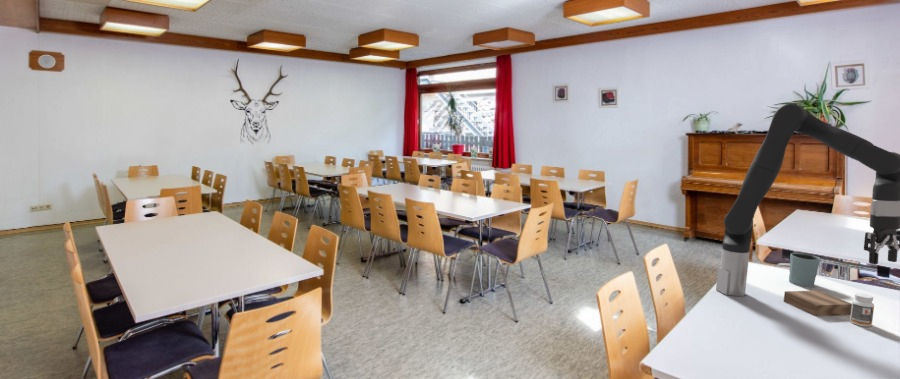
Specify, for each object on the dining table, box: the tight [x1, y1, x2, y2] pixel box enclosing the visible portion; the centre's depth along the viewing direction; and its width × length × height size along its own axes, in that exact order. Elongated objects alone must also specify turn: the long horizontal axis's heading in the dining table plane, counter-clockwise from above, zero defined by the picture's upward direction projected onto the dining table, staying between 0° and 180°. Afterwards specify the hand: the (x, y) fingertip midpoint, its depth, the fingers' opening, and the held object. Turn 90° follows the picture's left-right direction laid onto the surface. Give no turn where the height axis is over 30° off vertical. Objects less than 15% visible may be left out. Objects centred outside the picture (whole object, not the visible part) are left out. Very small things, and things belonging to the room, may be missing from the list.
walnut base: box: [783, 290, 852, 317], centre depth 175 cm, size 14×14×4 cm
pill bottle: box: [849, 292, 875, 328], centre depth 161 cm, size 6×6×10 cm
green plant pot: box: [788, 252, 821, 288], centre depth 202 cm, size 10×10×12 cm
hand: (882, 262), depth 158 cm, fingers open, 8 cm apart
